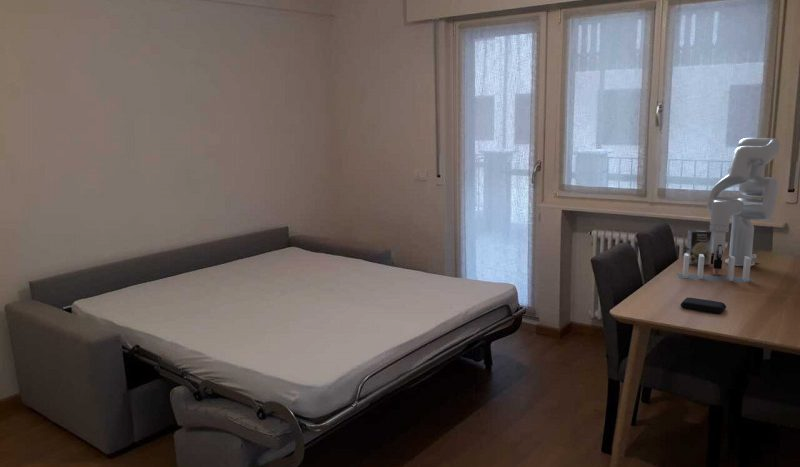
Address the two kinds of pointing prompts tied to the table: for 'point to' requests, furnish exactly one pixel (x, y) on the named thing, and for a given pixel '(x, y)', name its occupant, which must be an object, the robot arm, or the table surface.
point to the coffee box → (698, 245)
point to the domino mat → (715, 278)
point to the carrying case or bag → (703, 305)
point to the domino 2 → (700, 266)
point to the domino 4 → (746, 268)
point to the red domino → (715, 271)
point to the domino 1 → (685, 265)
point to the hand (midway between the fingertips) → (715, 266)
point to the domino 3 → (731, 268)
